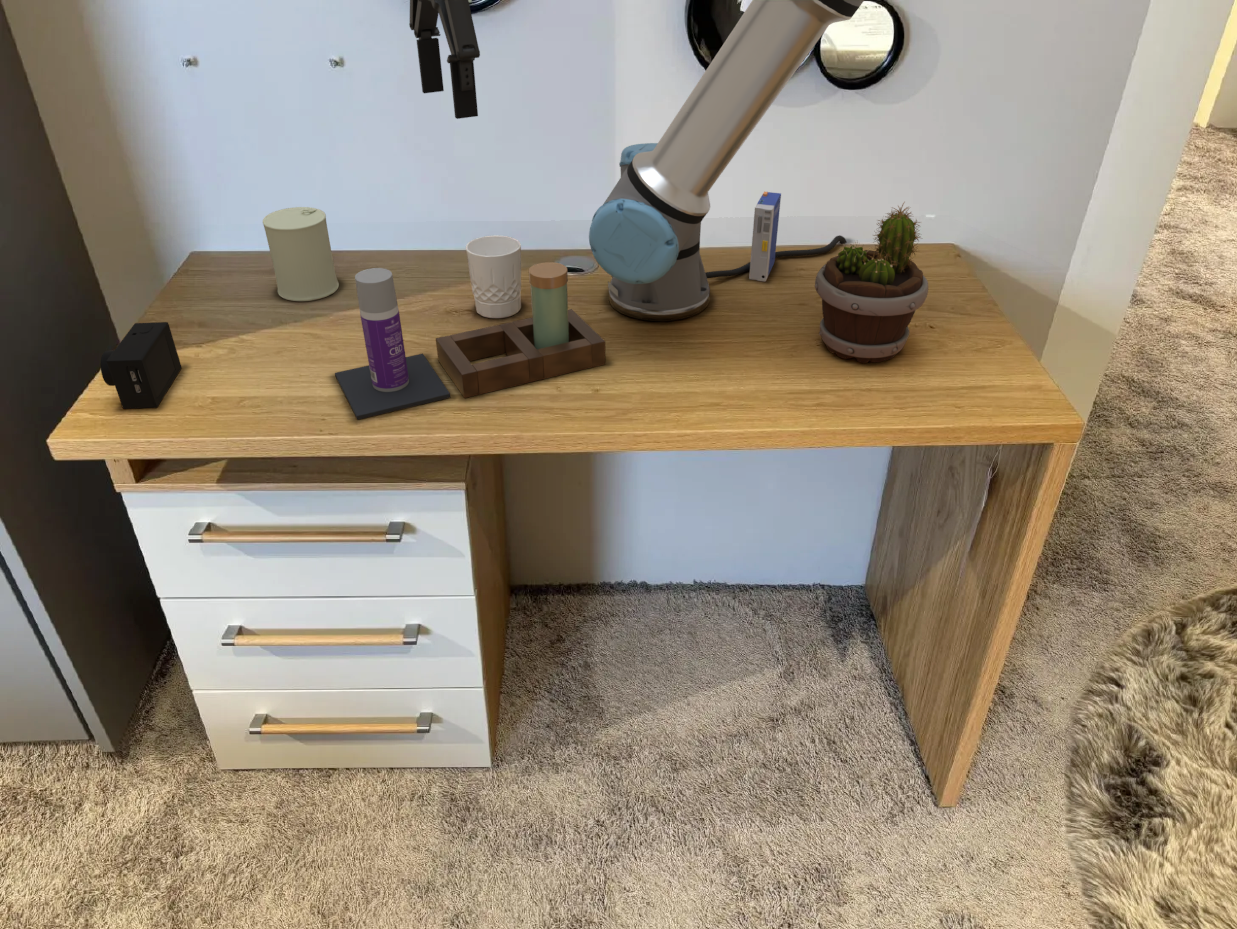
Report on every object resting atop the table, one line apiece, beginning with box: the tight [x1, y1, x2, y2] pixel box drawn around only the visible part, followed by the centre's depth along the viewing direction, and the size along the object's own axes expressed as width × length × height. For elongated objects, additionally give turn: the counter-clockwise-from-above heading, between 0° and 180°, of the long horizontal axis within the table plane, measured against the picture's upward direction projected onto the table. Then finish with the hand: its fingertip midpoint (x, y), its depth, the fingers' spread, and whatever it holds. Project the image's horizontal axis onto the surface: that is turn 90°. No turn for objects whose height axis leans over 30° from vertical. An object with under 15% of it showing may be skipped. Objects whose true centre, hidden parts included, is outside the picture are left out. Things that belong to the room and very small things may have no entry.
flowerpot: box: [814, 202, 929, 364], centre depth 127 cm, size 14×15×20 cm
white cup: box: [465, 234, 522, 319], centre depth 140 cm, size 8×8×10 cm
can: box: [262, 206, 340, 302], centre depth 146 cm, size 9×9×12 cm
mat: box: [334, 353, 451, 420], centre depth 124 cm, size 12×12×1 cm
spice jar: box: [528, 261, 569, 349], centre depth 128 cm, size 5×5×13 cm
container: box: [354, 267, 409, 392], centre depth 120 cm, size 5×5×15 cm
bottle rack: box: [435, 308, 606, 399], centre depth 129 cm, size 20×11×4 cm, turn 116°
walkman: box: [748, 191, 782, 282], centre depth 151 cm, size 8×3×12 cm, turn 162°
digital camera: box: [100, 321, 183, 410], centre depth 122 cm, size 10×5×7 cm, turn 4°
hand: (449, 103), depth 122 cm, fingers open, 13 cm apart
